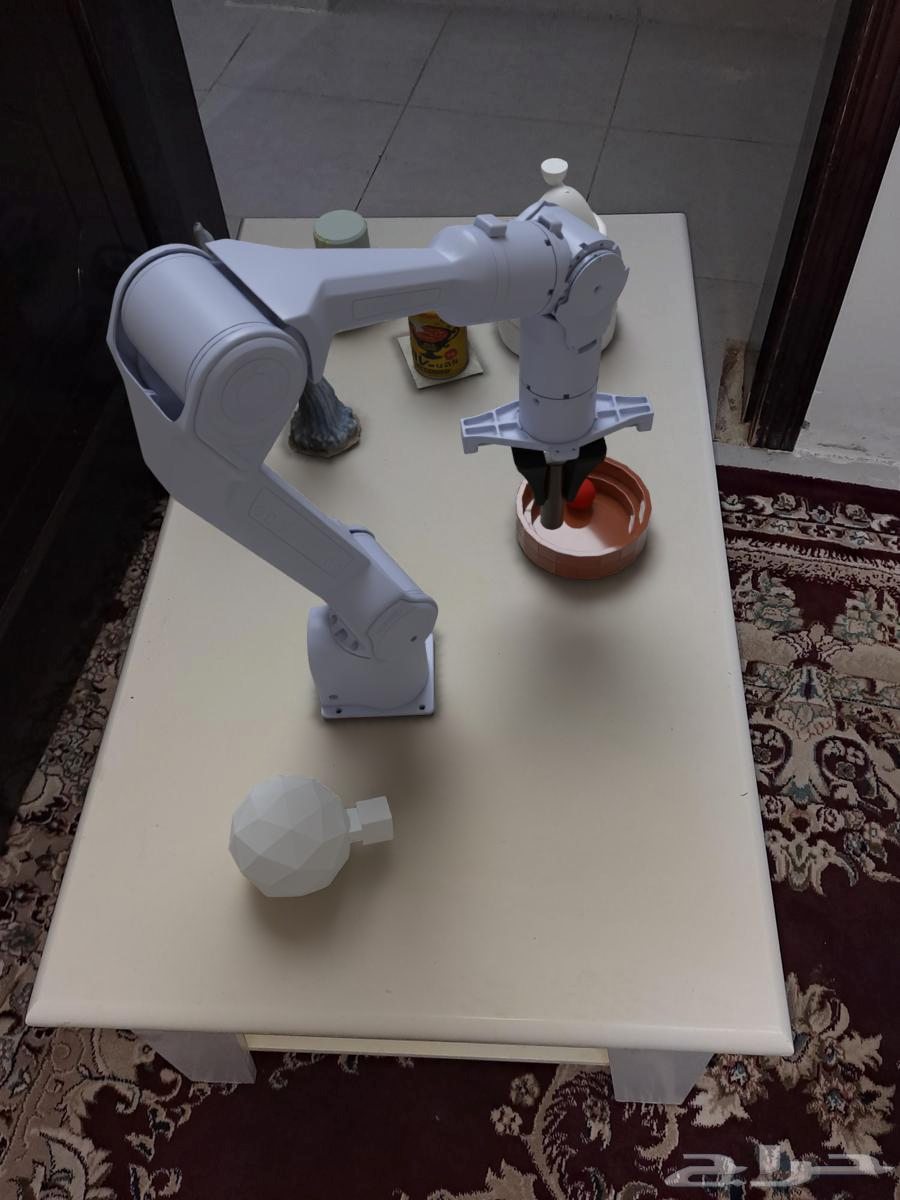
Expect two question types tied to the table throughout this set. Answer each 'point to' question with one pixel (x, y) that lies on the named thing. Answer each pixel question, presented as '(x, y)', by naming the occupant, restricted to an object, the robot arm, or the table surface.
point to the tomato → (583, 496)
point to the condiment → (437, 350)
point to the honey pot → (577, 205)
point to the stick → (554, 493)
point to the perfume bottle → (300, 834)
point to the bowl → (589, 526)
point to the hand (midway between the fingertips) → (552, 495)
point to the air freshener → (341, 231)
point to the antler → (311, 405)
